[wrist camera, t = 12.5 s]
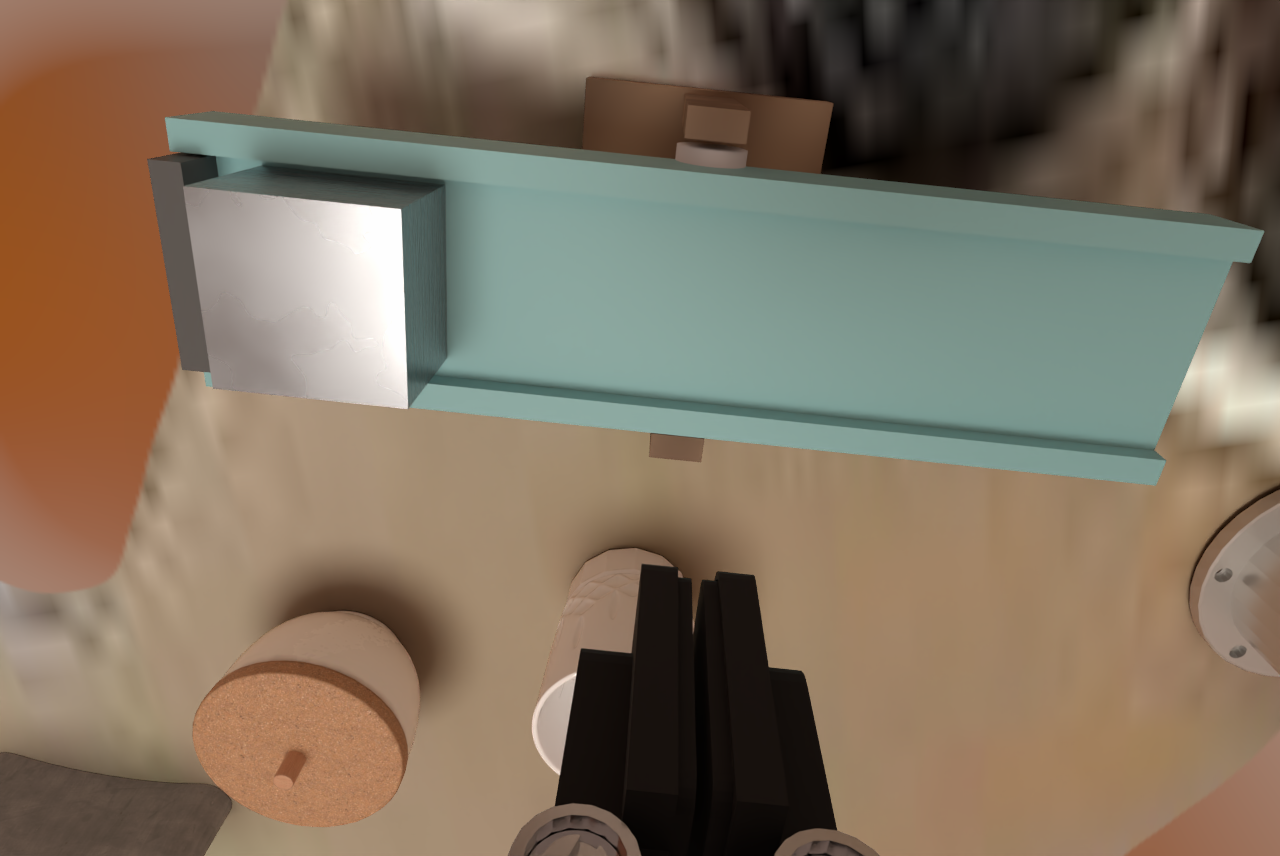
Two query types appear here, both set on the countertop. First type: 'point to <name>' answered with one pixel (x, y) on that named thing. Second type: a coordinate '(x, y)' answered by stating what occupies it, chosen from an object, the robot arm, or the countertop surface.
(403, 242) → the block
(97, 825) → the hip flask
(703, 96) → the stand
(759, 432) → the beam
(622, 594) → the white cup
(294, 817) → the lidded jar
